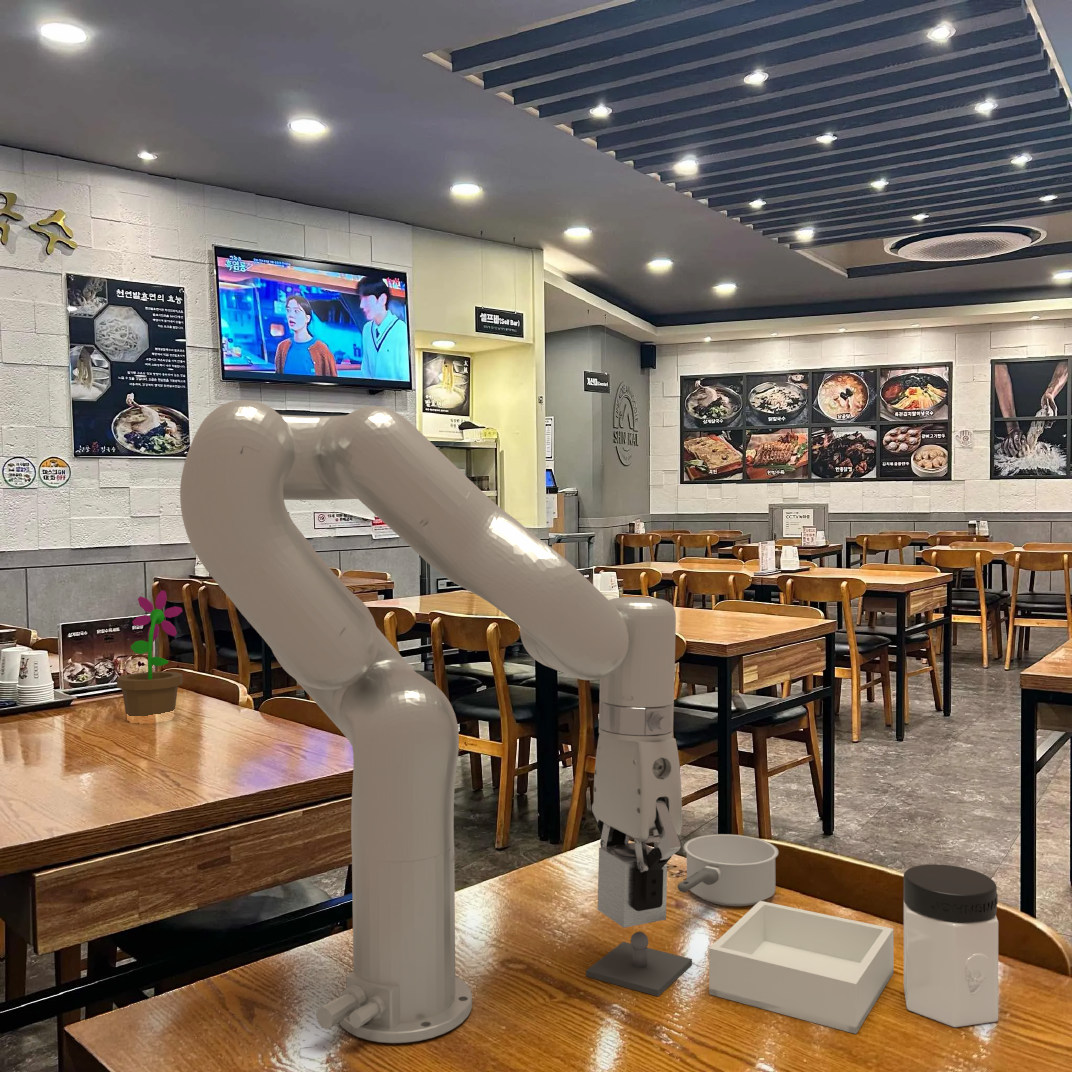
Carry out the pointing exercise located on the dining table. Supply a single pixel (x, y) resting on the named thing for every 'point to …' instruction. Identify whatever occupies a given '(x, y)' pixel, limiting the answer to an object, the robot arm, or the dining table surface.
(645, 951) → the ball stud
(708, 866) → the saucepan
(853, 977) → the bin
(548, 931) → the dining table surface
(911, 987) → the jar
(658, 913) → the metal block
